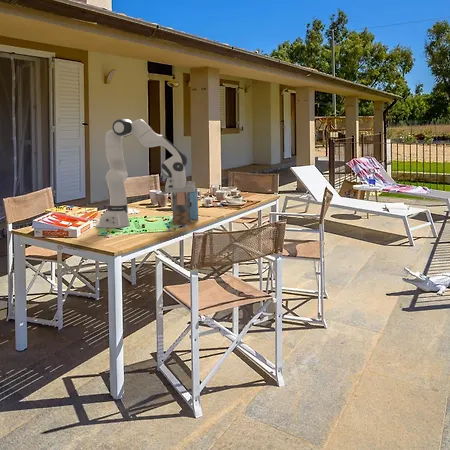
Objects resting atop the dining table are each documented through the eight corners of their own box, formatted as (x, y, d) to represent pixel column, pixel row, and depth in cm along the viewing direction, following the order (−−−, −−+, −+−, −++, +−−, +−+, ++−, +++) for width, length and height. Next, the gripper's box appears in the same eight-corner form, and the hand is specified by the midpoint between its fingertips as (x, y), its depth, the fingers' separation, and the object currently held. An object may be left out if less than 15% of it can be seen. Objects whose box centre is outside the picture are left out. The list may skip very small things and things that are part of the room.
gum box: (198, 218, 364) (197, 187, 360) (194, 220, 360) (193, 188, 356) (177, 216, 375) (176, 185, 371) (173, 217, 371) (172, 186, 367)
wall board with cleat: (172, 224, 343) (171, 188, 338) (173, 222, 352) (172, 186, 347) (189, 224, 343) (189, 188, 338) (190, 222, 352) (189, 186, 347)
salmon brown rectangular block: (177, 204, 343) (176, 187, 341) (177, 204, 347) (177, 186, 345) (184, 204, 343) (184, 187, 341) (184, 203, 347) (184, 186, 345)
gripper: (195, 178, 335) (196, 190, 347) (164, 178, 335) (166, 191, 346) (195, 185, 332) (196, 198, 343) (164, 186, 331) (166, 198, 343)
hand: (180, 194), depth 345 cm, fingers closed on salmon brown rectangular block, 5 cm apart
